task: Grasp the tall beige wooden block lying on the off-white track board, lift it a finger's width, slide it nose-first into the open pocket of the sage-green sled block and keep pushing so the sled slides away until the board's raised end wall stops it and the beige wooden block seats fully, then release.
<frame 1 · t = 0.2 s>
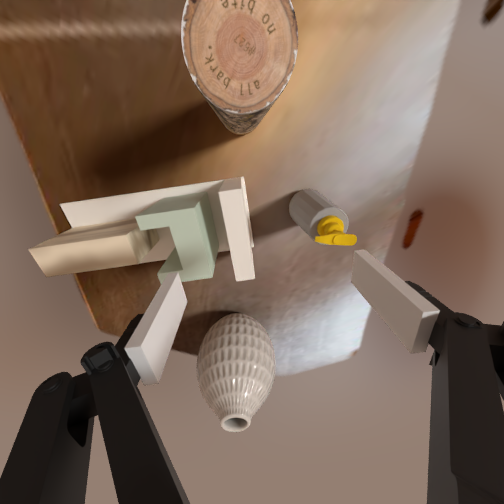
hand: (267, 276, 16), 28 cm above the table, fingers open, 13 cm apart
track: (164, 225, 43), on the table
vase: (237, 323, 55), on the table
bark log: (240, 111, 35), on the table
soap bottle: (304, 205, 42), on the table
beige wooden block: (118, 233, 42), point 1 cm above the table, touching track
socket block: (186, 234, 36), point 7 cm above the table, slide at 0.0 cm
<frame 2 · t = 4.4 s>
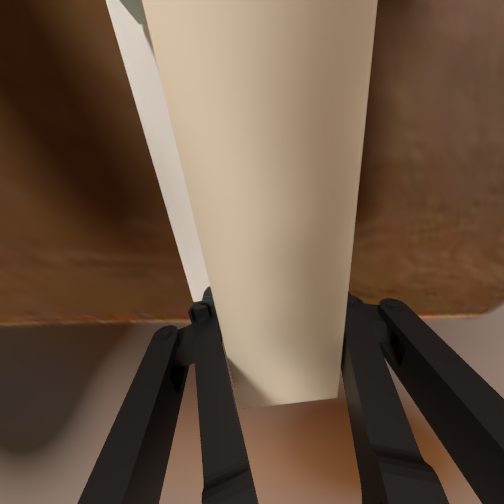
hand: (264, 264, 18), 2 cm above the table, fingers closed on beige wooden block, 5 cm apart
track: (244, 65, 13), on the table
beige wooden block: (258, 209, 17), point 1 cm above the table, touching gripper, track
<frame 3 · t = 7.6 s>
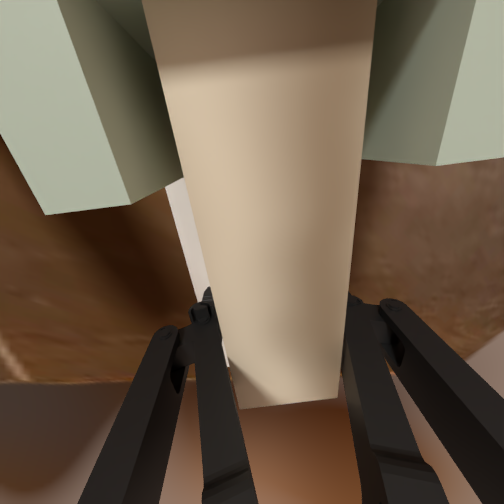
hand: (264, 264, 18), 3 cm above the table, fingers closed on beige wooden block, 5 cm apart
track: (260, 225, 19), on the table
beige wooden block: (258, 209, 17), point 2 cm above the table, touching gripper, socket block
socket block: (251, 58, 9), point 7 cm above the table, slide at 3.5 cm, touching beige wooden block, track
when the fingers open (3 cm above the table, at t = 8.5 s): beige wooden block stays where it is, resting on track.
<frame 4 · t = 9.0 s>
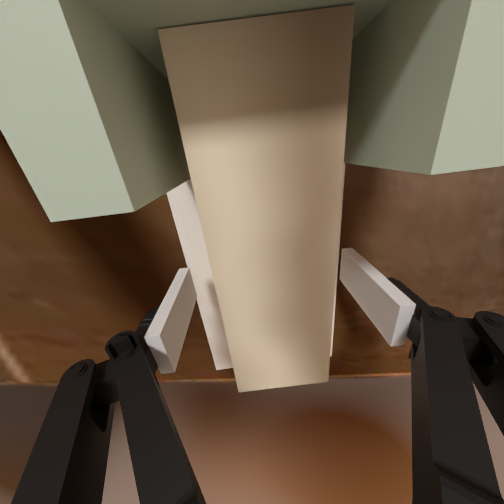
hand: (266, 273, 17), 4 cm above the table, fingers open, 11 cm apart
track: (259, 228, 19), on the table
beige wooden block: (257, 209, 18), point 1 cm above the table, touching track
socket block: (251, 66, 9), point 7 cm above the table, slide at 3.5 cm
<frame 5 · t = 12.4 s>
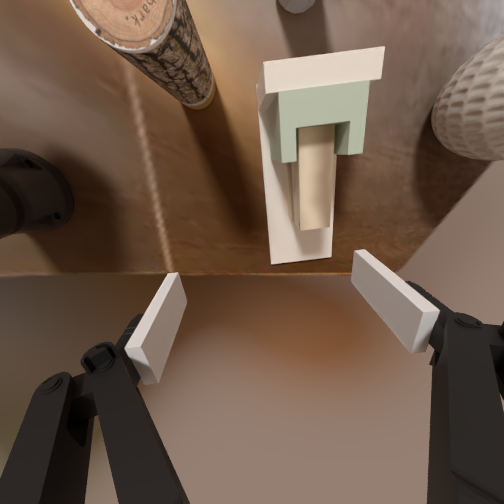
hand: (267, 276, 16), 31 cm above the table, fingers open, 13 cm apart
track: (299, 185, 43), on the table
vase: (451, 109, 39), on the table
bark log: (195, 86, 36), on the table
beige wooden block: (299, 175, 42), point 1 cm above the table, touching track
socket block: (309, 128, 33), point 7 cm above the table, slide at 3.5 cm
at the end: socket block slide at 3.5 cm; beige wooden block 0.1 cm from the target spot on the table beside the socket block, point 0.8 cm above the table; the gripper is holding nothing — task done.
